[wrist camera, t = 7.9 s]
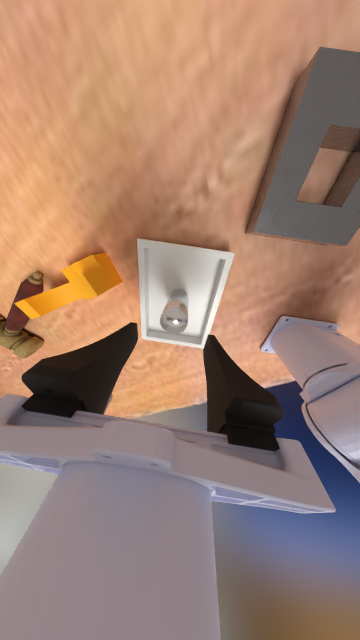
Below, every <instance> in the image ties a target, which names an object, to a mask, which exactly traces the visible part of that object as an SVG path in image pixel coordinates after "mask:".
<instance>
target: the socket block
mask: <svg viewBox="0 0 360 640" xmlns="http://www.w3.org/2000/svg"><path fill="white" fill-rule="evenodd" d="M320 147H322V148H329V149H336V150H343V151H350V152H352V154H351V156H350V157H349V159H348V161H347V163H346V165H345V166H344V168H343V170H342V172H341V174H340V176H339V177H338V179H337V181H336V183H335V185H334V186H333V188H332V190H331V192H330V194H329V195H328V197H327V199H326V201H325V203H324V204H323V205H320V204H313V203H306V202H299V201H295V200H296V198H297V196H298V194H299V192H300V189H301V187H302V185H303V183H304V181H305V178H306V176H307V174H308V172H309V170H310V167H311V165H312V163H313V161H314V159H315V156H316V154H317V152H318V150H319V148H320ZM359 227H360V52H353V51H346V50H339V49H332V48H324V47H320V48H319V49H318V51H317V52H316V54H315V55H314V57H313V58H312V60H311V61H310V63H309V64H308V66H307V67H306V69H305V71H304V72H303V74H302V75H301V77H300V78H299V80H298V81H297V83H296V84H295V86H294V88H293V91H292V94H291V97H290V100H289V103H288V106H287V109H286V112H285V115H284V118H283V121H282V124H281V127H280V130H279V133H278V136H277V139H276V142H275V145H274V148H273V151H272V154H271V157H270V160H269V163H268V166H267V169H266V172H265V175H264V178H263V181H262V184H261V187H260V190H259V193H258V196H257V199H256V202H255V205H254V208H253V211H252V214H251V217H250V220H249V223H248V226H247V229H246V232H245V233H247V234H254V235H260V236H267V237H274V238H281V239H287V240H294V241H301V242H308V243H315V244H321V245H338V246H346V245H347V244H348V242H349V241H350V240H351V238H352V237H353V236H354V234H355V233H356V231H357V230H358V229H359Z"/></svg>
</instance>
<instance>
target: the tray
mask: <svg viewBox="0 0 360 640" xmlns="http://www.w3.org/2000/svg"><path fill="white" fill-rule="evenodd" d="M137 248H138V269H139V289H140V310H141V331H142V339H145V340H151V341H158V342H164V343H171V344H177V345H184V346H190V347H197V348H203V349H204V346H205V343H206V339H207V336H208V334H209V333H210V330H211V327H212V324H213V321H214V318H215V314H216V311H217V308H218V305H219V302H220V299H221V296H222V292H223V289H224V286H225V283H226V280H227V277H228V274H229V271H230V267H231V264H232V261H233V258H234V255H235V253H232V252H228V251H221V250H215V249H208V248H201V247H195V246H188V245H181V244H175V243H168V242H161V241H154V240H148V239H137ZM176 289H181V290H183V291H185V292H186V293H187V294H188V297H189V304H188V324H187V327H186V329H185V330H184V331H182V332H181V333H176V334H173V333H169V332H167V331H165V330H164V329H163V328H162V327H161V325H160V317H161V315H162V312H163V310H164V308H165V305H166V303H167V300H168V298H169V295H170V293H171V292H172V291H174V290H176Z"/></svg>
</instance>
